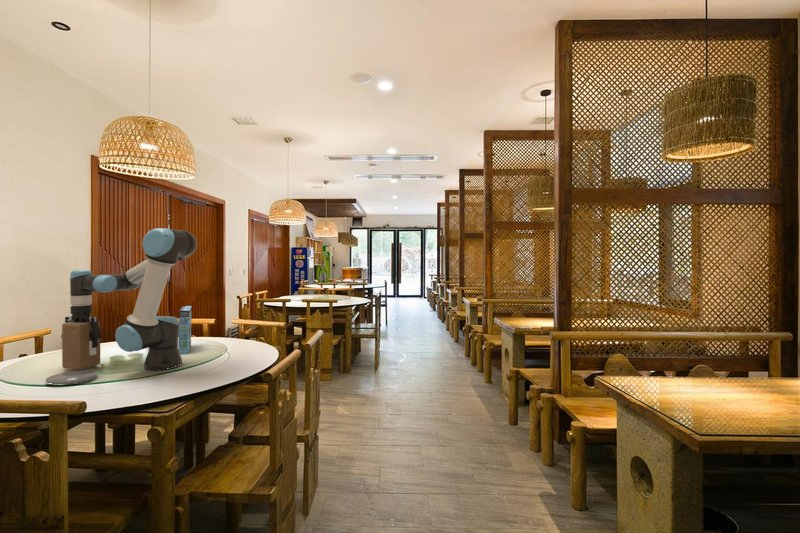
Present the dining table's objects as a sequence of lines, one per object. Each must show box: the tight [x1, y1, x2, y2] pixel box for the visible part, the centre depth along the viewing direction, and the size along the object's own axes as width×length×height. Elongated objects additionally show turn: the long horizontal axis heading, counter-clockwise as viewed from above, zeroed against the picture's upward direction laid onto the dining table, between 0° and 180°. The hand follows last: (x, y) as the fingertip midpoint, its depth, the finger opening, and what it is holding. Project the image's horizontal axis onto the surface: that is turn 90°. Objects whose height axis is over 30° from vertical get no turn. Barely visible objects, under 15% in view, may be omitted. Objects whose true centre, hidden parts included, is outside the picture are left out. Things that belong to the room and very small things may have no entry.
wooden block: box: [61, 320, 101, 370], centre depth 177 cm, size 10×10×20 cm
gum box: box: [178, 305, 193, 355], centre depth 215 cm, size 20×5×23 cm, turn 24°
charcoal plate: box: [45, 369, 98, 385], centre depth 160 cm, size 16×16×2 cm
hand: (81, 354), depth 178 cm, fingers closed on wooden block, 10 cm apart
